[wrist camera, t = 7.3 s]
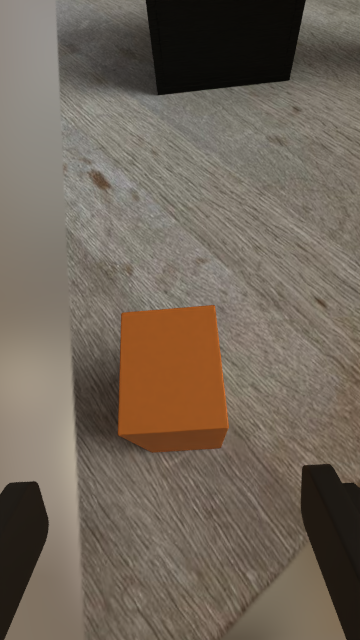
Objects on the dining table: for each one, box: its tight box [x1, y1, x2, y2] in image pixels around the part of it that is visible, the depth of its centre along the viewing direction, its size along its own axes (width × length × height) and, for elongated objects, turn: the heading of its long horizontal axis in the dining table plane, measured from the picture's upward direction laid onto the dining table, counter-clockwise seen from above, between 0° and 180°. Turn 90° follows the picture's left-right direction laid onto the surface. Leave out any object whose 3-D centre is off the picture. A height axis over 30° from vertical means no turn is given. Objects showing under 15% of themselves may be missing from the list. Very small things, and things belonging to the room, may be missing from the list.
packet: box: [118, 305, 229, 453], centre depth 16 cm, size 4×5×8 cm
